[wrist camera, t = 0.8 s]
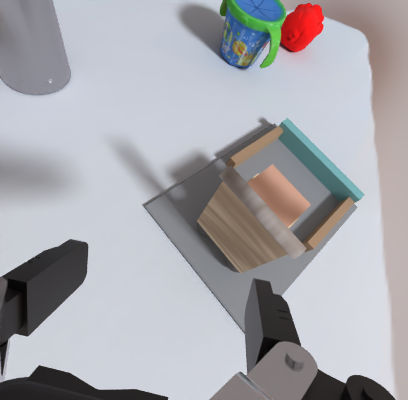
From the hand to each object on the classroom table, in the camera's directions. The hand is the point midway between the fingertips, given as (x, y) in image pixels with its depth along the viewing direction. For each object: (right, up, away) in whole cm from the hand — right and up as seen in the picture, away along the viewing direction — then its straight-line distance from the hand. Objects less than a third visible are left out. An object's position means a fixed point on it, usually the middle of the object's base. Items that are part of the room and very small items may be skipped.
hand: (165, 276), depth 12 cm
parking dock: (+11, +2, +26) cm, 28 cm away
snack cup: (+8, +33, +40) cm, 52 cm away
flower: (+22, +39, +47) cm, 65 cm away
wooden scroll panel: (+7, 0, +23) cm, 24 cm away
